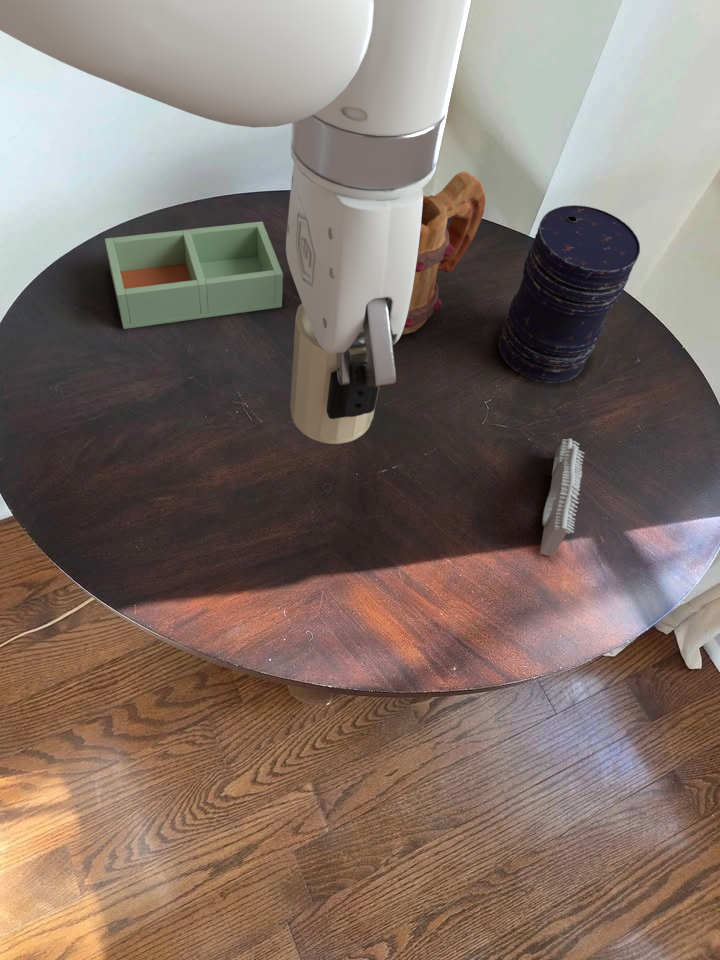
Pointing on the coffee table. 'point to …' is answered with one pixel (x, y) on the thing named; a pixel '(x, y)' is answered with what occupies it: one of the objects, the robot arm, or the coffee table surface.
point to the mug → (443, 241)
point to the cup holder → (194, 274)
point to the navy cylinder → (567, 292)
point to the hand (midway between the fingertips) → (336, 373)
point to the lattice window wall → (562, 496)
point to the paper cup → (320, 388)
